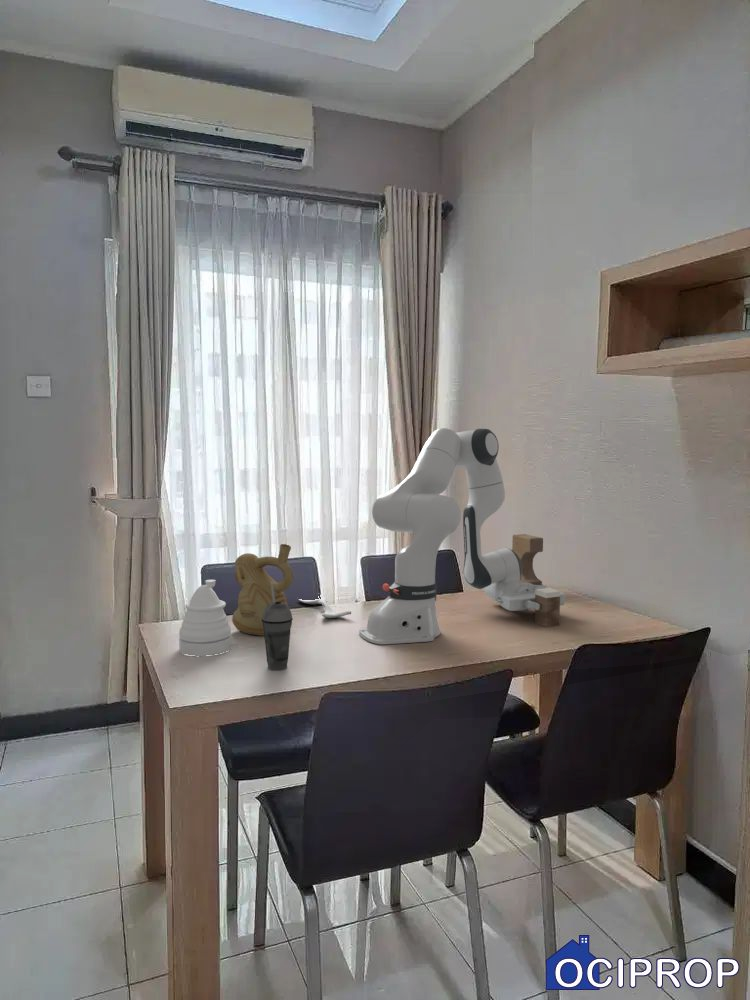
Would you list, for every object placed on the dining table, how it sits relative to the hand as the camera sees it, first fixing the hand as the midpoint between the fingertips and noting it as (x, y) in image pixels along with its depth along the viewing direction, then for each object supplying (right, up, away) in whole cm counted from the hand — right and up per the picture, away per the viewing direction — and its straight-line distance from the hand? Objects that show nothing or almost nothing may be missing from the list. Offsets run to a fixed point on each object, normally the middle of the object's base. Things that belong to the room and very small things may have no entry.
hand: (549, 606), depth 200 cm
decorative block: (+3, -2, +43) cm, 43 cm away
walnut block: (0, -5, +1) cm, 6 cm away
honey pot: (-94, -8, -24) cm, 97 cm away
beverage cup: (-74, -9, -38) cm, 83 cm away
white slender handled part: (-68, -4, +17) cm, 70 cm away
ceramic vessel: (-82, -6, -7) cm, 83 cm away
